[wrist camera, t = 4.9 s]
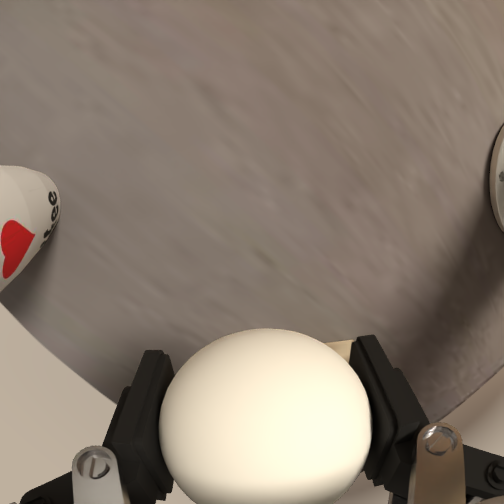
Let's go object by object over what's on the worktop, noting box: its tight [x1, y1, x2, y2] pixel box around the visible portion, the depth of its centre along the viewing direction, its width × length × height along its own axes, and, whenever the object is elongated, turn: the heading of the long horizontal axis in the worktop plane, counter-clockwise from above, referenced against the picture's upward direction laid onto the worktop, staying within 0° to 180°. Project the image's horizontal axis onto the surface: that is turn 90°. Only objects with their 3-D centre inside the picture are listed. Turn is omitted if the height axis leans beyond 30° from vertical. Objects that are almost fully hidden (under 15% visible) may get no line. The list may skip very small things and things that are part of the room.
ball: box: [159, 328, 373, 504], centre depth 8 cm, size 6×6×6 cm
